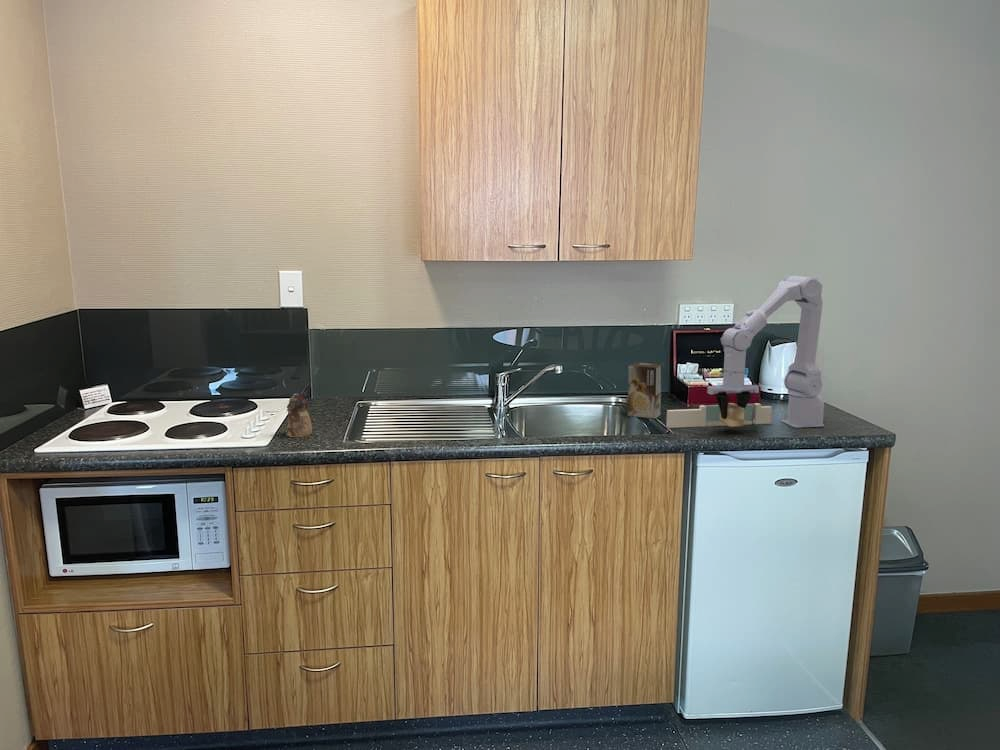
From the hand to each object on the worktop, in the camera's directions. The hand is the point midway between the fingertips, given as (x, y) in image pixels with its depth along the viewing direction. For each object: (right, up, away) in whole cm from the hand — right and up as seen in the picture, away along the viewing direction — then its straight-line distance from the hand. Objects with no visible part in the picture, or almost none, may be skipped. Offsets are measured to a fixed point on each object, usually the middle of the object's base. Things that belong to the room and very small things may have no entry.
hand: (731, 417), depth 222 cm
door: (+2, -1, +9) cm, 9 cm away
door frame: (-1, -3, +9) cm, 9 cm away
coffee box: (-21, -1, +21) cm, 29 cm away
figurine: (-123, -5, 0) cm, 123 cm away
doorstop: (0, -2, 0) cm, 2 cm away
